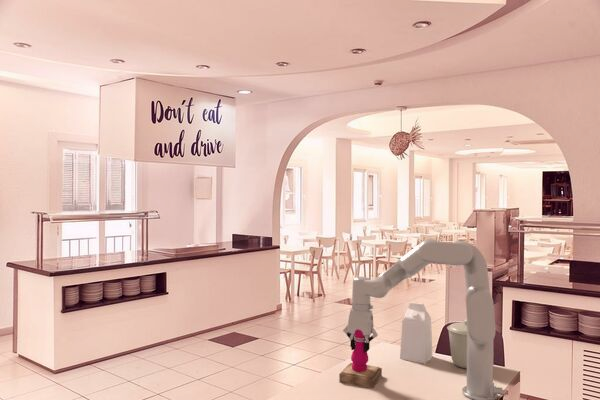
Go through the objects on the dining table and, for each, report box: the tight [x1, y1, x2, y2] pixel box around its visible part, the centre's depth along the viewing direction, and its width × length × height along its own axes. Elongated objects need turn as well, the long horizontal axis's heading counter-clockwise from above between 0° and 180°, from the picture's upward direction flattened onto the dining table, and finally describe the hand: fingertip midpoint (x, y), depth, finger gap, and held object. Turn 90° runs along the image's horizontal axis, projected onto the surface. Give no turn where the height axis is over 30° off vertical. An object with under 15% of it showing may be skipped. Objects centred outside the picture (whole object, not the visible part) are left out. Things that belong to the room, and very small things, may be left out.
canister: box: [446, 318, 467, 370], centre depth 212 cm, size 18×18×21 cm
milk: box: [399, 301, 433, 365], centre depth 222 cm, size 12×12×26 cm
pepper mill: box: [350, 329, 369, 372], centre depth 195 cm, size 7×7×20 cm
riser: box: [338, 362, 383, 389], centre depth 195 cm, size 14×14×4 cm
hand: (359, 349), depth 195 cm, fingers closed on pepper mill, 5 cm apart
